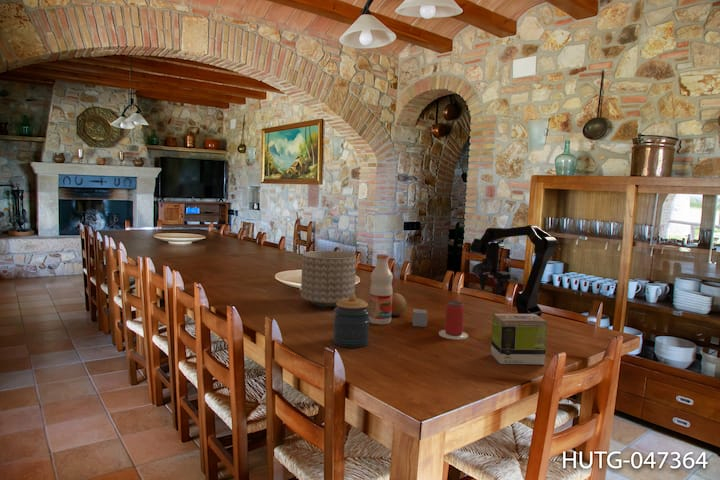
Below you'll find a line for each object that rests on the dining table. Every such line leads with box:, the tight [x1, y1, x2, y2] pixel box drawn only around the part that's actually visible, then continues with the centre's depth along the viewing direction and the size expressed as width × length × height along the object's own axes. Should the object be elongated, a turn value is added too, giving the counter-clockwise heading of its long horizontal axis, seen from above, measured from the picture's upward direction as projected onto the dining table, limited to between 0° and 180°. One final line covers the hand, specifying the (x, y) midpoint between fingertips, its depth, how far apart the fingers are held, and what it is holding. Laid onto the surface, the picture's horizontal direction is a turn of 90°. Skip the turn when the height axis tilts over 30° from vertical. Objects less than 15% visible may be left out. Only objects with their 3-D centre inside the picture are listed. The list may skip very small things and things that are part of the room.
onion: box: [391, 292, 408, 317], centre depth 206 cm, size 10×10×10 cm
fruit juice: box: [368, 254, 394, 326], centre depth 195 cm, size 9×9×28 cm
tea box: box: [490, 312, 548, 366], centre depth 156 cm, size 15×10×15 cm
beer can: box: [444, 301, 465, 336], centre depth 180 cm, size 7×7×12 cm
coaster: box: [438, 329, 469, 341], centre depth 181 cm, size 11×11×1 cm
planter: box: [300, 250, 357, 309], centre depth 220 cm, size 25×25×24 cm
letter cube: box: [412, 308, 428, 328], centre depth 194 cm, size 6×6×6 cm
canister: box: [332, 293, 371, 349], centre depth 167 cm, size 13×13×18 cm
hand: (489, 292), depth 205 cm, fingers open, 9 cm apart
